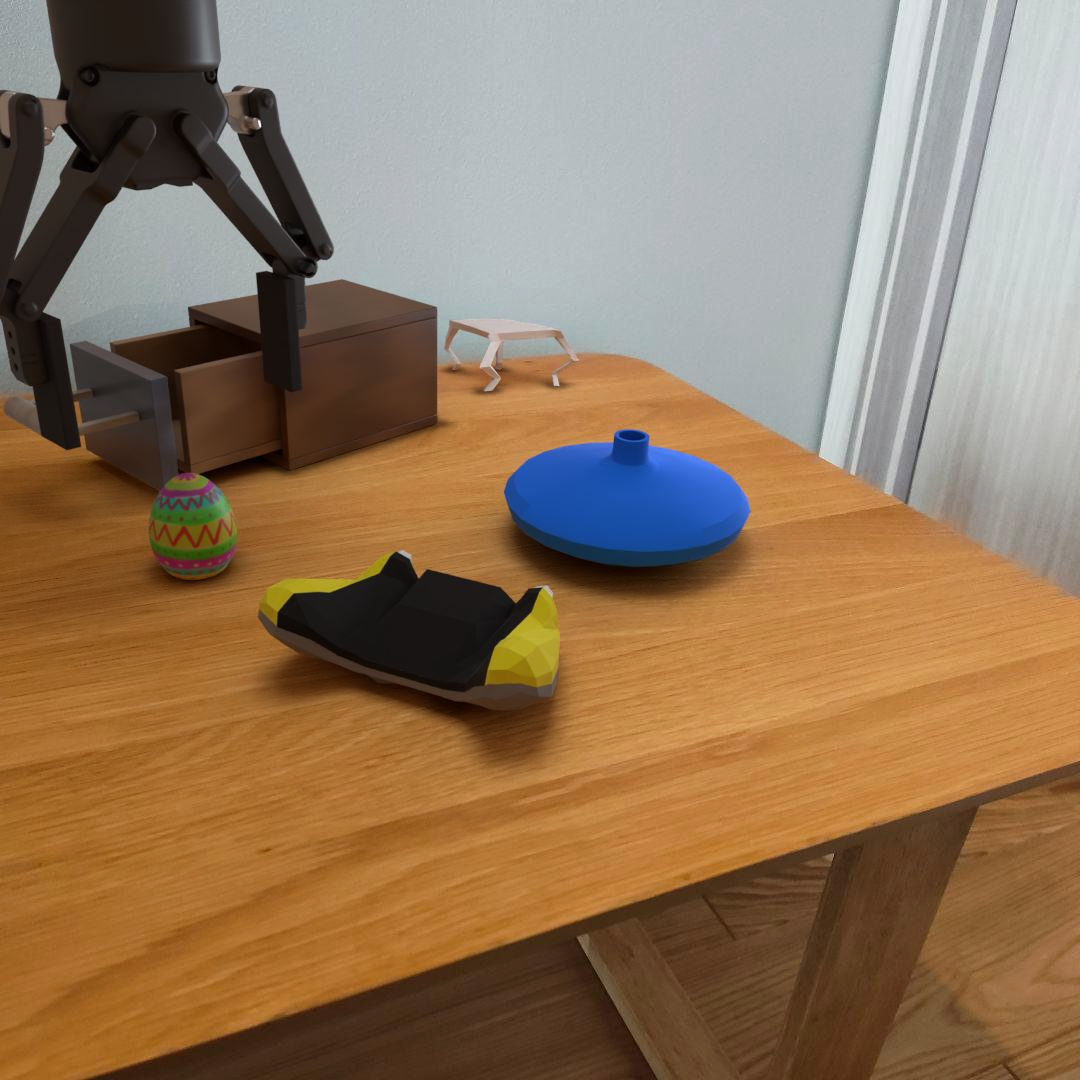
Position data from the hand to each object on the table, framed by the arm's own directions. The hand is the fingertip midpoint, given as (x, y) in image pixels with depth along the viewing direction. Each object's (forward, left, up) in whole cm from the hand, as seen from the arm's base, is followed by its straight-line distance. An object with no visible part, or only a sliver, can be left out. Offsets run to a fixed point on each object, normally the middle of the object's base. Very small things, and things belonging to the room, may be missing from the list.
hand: (181, 412), depth 58 cm
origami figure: (-12, +40, -10) cm, 43 cm away
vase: (+15, +22, -10) cm, 28 cm away
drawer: (-14, +7, -9) cm, 18 cm away
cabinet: (-14, +20, -10) cm, 26 cm away
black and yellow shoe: (+18, +2, -10) cm, 21 cm away
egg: (0, 0, -10) cm, 10 cm away
